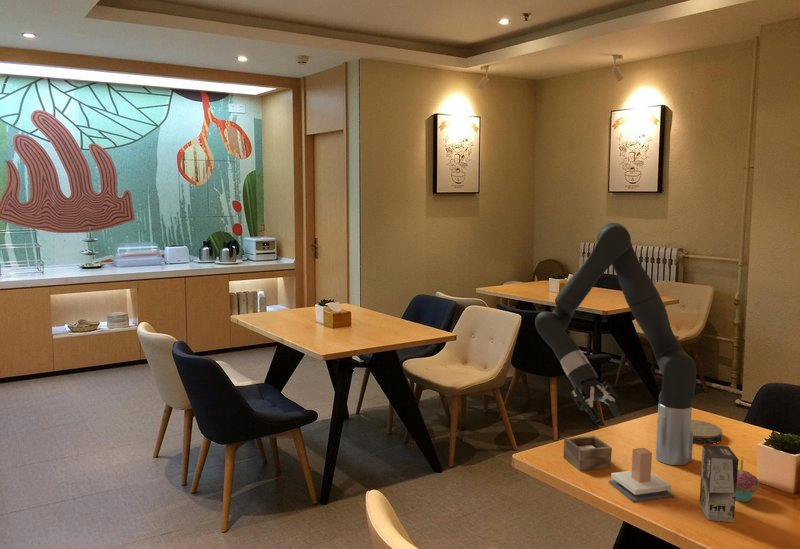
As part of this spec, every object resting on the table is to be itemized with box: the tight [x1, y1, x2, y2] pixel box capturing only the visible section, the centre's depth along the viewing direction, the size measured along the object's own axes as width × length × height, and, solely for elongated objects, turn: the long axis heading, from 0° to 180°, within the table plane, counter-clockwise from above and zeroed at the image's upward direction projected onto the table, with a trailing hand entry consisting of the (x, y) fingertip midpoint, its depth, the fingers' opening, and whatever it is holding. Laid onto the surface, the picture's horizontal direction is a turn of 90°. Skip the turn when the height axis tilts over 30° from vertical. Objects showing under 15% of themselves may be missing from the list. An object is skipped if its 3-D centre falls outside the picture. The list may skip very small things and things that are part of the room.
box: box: [563, 435, 613, 472], centre depth 200 cm, size 10×10×6 cm
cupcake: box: [735, 457, 760, 502], centre depth 177 cm, size 9×8×12 cm
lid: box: [610, 447, 672, 495], centre depth 182 cm, size 11×11×10 cm
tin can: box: [691, 419, 723, 445], centre depth 223 cm, size 16×16×3 cm
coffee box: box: [699, 444, 740, 523], centre depth 169 cm, size 9×6×16 cm
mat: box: [608, 479, 675, 503], centre depth 183 cm, size 12×12×1 cm
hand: (608, 418), depth 190 cm, fingers open, 8 cm apart
